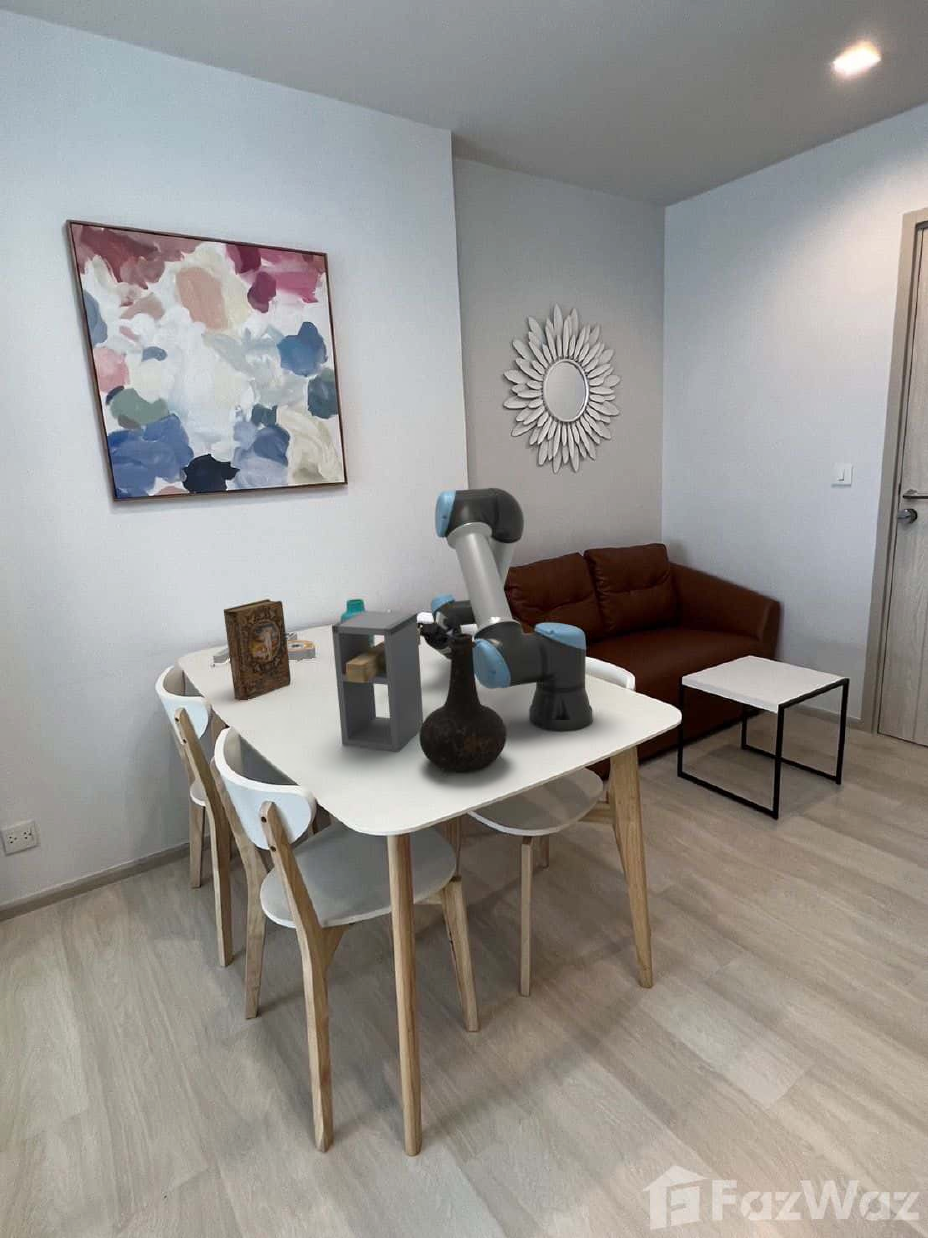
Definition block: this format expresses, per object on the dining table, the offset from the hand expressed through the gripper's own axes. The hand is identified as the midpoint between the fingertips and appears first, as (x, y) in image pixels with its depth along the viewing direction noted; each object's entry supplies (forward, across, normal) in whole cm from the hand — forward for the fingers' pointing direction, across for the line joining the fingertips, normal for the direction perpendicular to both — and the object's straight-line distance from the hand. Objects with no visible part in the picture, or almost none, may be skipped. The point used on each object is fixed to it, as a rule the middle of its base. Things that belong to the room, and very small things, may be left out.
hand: (412, 615), depth 169 cm
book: (-11, +48, -21) cm, 53 cm away
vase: (-41, +35, -4) cm, 54 cm away
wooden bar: (+11, 0, -14) cm, 18 cm away
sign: (-40, +65, -5) cm, 76 cm away
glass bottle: (+13, -23, -36) cm, 44 cm away
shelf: (+6, 0, -31) cm, 31 cm away
